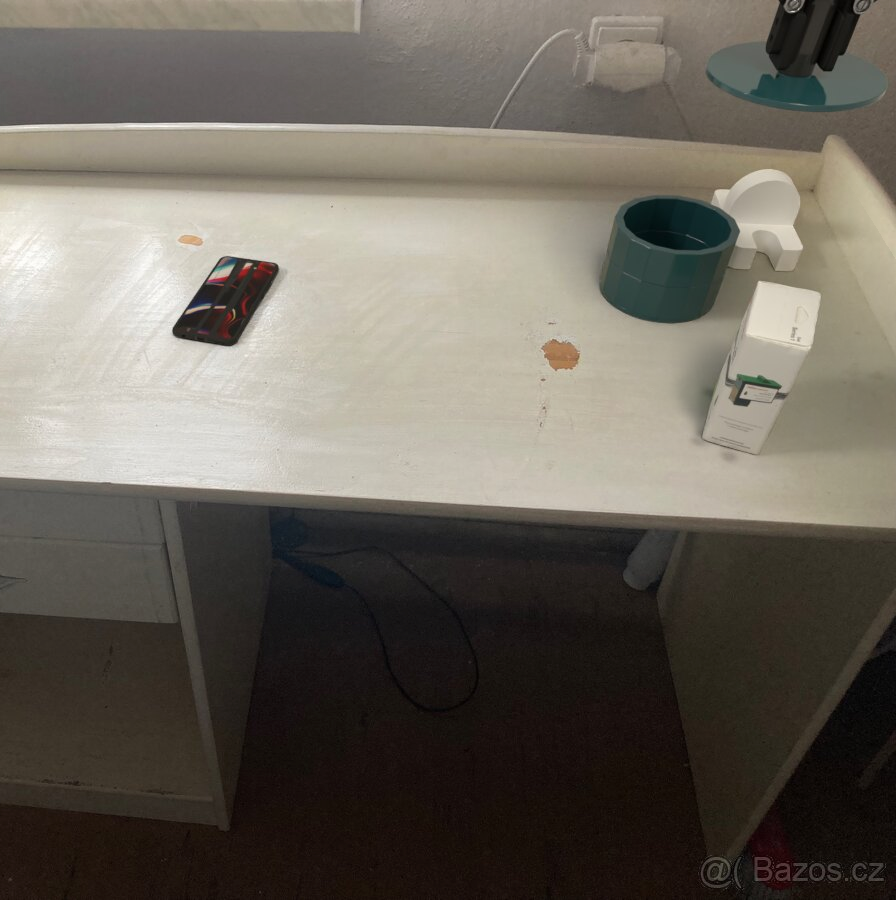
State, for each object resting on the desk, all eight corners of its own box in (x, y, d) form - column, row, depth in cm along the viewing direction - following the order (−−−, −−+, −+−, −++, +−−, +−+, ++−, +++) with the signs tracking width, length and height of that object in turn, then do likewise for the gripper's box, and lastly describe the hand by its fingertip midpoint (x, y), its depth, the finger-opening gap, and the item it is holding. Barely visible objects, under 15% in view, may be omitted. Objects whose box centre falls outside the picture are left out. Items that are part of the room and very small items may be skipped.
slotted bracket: (796, 271, 93) (824, 206, 88) (728, 268, 94) (751, 203, 89) (768, 211, 102) (792, 148, 97) (706, 209, 103) (727, 146, 98)
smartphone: (169, 331, 88) (221, 254, 98) (169, 337, 89) (222, 259, 99) (234, 342, 87) (281, 263, 97) (235, 348, 87) (281, 268, 97)
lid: (891, 61, 67) (931, -30, 63) (878, 125, 60) (922, 25, 55) (721, 38, 72) (747, -49, 68) (689, 94, 64) (716, 0, 60)
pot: (724, 276, 93) (748, 209, 87) (702, 334, 86) (727, 265, 80) (615, 251, 97) (632, 186, 92) (586, 305, 90) (602, 237, 85)
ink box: (714, 382, 81) (757, 274, 72) (772, 397, 79) (822, 288, 71) (699, 440, 75) (744, 331, 67) (761, 457, 74) (814, 347, 65)
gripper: (786, -237, 50) (695, 81, 63) (1092, -244, 48) (933, 87, 61) (758, -254, 56) (679, 43, 69) (1033, -260, 53) (898, 48, 66)
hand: (800, 62), depth 65 cm, fingers closed on lid, 2 cm apart
